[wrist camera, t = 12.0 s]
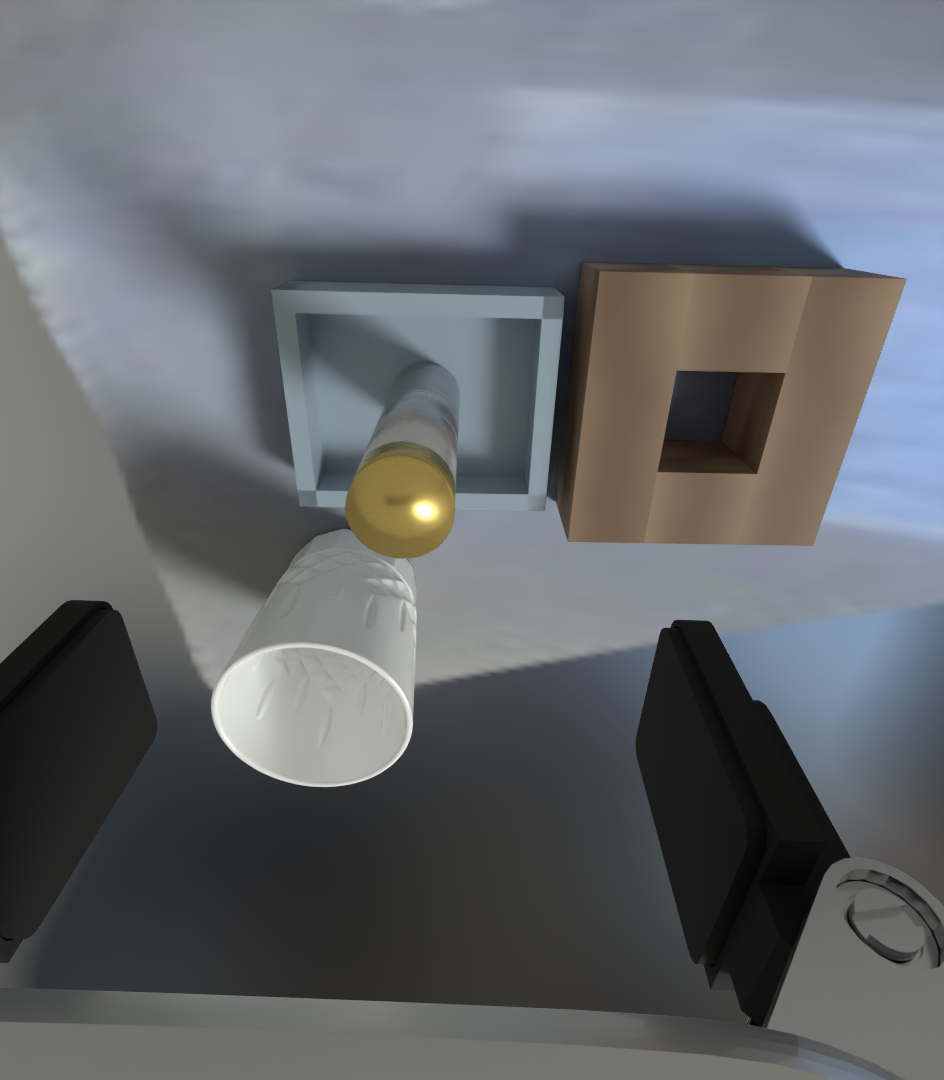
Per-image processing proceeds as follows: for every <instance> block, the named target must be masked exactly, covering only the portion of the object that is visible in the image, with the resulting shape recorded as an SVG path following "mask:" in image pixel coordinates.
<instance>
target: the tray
mask: <svg viewBox="0 0 944 1080" xmlns="http://www.w3.org/2000/svg"><path fill="white" fill-rule="evenodd" d="M271 295H272V303H273V310H274V318H275V325H276V333H277V340H278V348H279V355H280V363H281V370H282V378H283V385H284V393H285V401H286V408H287V416H288V423H289V431H290V438H291V446H292V453H293V461H294V468H295V476H296V483H297V491H298V499H299V506H300V507H345V502H346V496H347V493H348V490H349V488H350V486H351V483H352V481H353V479H354V476H355V474H356V472H357V469H358V467H359V465H360V462H361V460H362V458H363V455H364V453H365V451H366V448H367V446H368V443H369V441H370V439H371V436H372V434H373V432H374V429H375V427H376V425H377V422H378V420H379V418H380V415H381V413H382V411H383V408H384V406H385V404H386V401H387V399H388V397H389V394H390V392H391V390H392V387H393V385H394V383H395V380H396V378H397V377H398V375H399V374H400V373H401V372H402V371H403V370H404V369H405V368H407V367H408V366H410V365H412V364H415V363H419V362H432V363H436V364H438V365H441V366H442V367H444V368H445V369H447V370H448V371H449V372H450V373H451V374H452V375H453V376H454V378H455V380H456V381H457V384H458V386H459V391H460V409H459V430H458V450H457V471H456V491H455V509H458V510H515V511H545V504H546V493H547V483H548V472H549V461H550V451H551V440H552V429H553V418H554V408H555V397H556V386H557V376H558V365H559V354H560V344H561V333H562V322H563V311H564V301H565V297H564V296H563V295H562V294H561V293H560V292H559V291H558V290H557V289H556V288H555V287H519V286H478V285H437V284H396V283H355V282H314V281H290V282H288V283H286V284H283V285H281V286H279V287H276V288H274V289H272V290H271Z"/></svg>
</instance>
